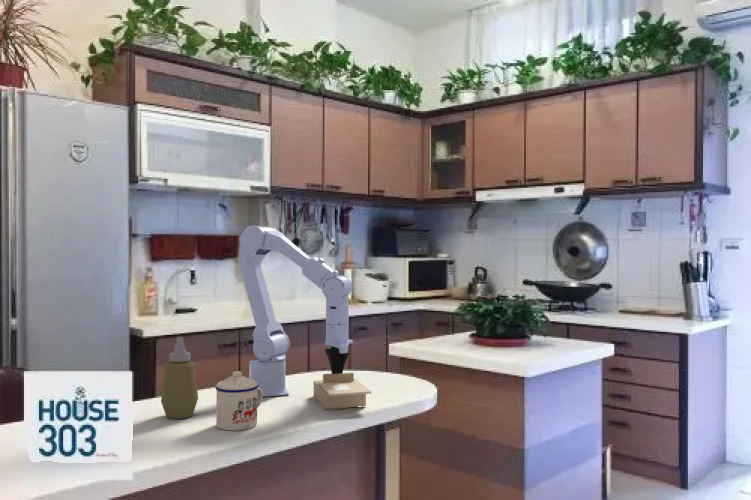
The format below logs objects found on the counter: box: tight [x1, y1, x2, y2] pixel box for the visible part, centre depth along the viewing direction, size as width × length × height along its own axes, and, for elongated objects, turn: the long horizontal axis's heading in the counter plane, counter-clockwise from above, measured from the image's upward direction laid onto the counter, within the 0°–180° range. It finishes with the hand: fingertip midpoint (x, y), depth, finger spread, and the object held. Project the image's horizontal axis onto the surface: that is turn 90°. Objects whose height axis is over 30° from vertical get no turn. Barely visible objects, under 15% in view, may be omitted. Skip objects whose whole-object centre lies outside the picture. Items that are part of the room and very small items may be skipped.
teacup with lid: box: [214, 370, 263, 432], centre depth 138 cm, size 12×9×12 cm
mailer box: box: [313, 379, 367, 411], centre depth 158 cm, size 14×10×4 cm
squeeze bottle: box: [160, 336, 199, 420], centre depth 144 cm, size 8×8×18 cm
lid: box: [316, 372, 372, 396], centre depth 154 cm, size 14×10×2 cm
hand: (337, 377), depth 160 cm, fingers closed
